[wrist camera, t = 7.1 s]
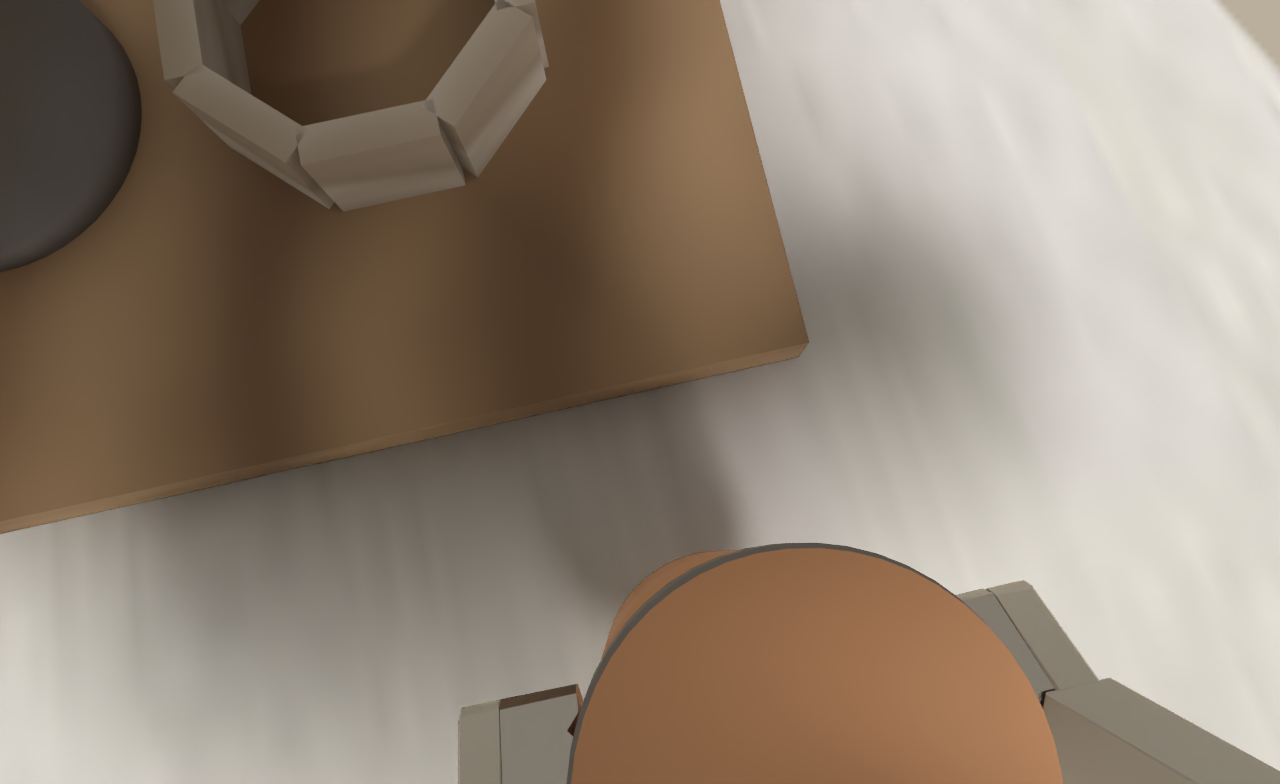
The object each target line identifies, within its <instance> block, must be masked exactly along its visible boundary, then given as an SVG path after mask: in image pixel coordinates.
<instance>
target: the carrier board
mask: <svg viewBox="0 0 1280 784" xmlns="http://www.w3.org/2000/svg"><path fill="white" fill-rule="evenodd" d="M808 343H809V341H808V337H807V333H806V329H805V325H804V322H803V318H802V314H801V310H800V306H799V303H798V299H797V295H796V291H795V287H794V283H793V280H792V276H791V272H790V268H789V264H788V261H787V257H786V253H785V249H784V245H783V241H782V238H781V234H780V230H779V226H778V222H777V219H776V215H775V211H774V207H773V203H772V199H771V196H770V192H769V188H768V184H767V180H766V176H765V173H764V169H763V165H762V161H761V157H760V154H759V150H758V146H757V142H756V138H755V134H754V131H753V127H752V123H751V119H750V115H749V112H748V108H747V104H746V100H745V96H744V92H743V89H742V85H741V81H740V77H739V73H738V70H737V66H736V62H735V58H734V54H733V50H732V47H731V43H730V39H729V35H728V31H727V27H726V24H725V20H724V16H723V12H722V8H721V5H720V1H719V0H0V534H2V533H6V532H11V531H15V530H20V529H24V528H29V527H33V526H38V525H42V524H47V523H51V522H56V521H60V520H65V519H69V518H74V517H78V516H83V515H87V514H92V513H96V512H101V511H105V510H110V509H114V508H119V507H123V506H128V505H132V504H137V503H141V502H146V501H150V500H155V499H160V498H164V497H169V496H173V495H178V494H182V493H187V492H191V491H196V490H200V489H205V488H209V487H214V486H218V485H223V484H227V483H232V482H236V481H241V480H245V479H250V478H254V477H259V476H263V475H268V474H272V473H277V472H281V471H286V470H290V469H295V468H299V467H304V466H308V465H313V464H317V463H322V462H326V461H331V460H335V459H340V458H344V457H349V456H353V455H358V454H362V453H367V452H371V451H376V450H381V449H385V448H390V447H394V446H399V445H403V444H408V443H412V442H417V441H421V440H426V439H430V438H435V437H439V436H444V435H448V434H453V433H457V432H462V431H466V430H471V429H475V428H480V427H484V426H489V425H493V424H498V423H502V422H507V421H511V420H516V419H520V418H525V417H529V416H534V415H538V414H543V413H547V412H552V411H556V410H561V409H565V408H570V407H574V406H579V405H583V404H588V403H592V402H597V401H602V400H606V399H611V398H615V397H620V396H624V395H629V394H633V393H638V392H642V391H647V390H651V389H656V388H660V387H665V386H669V385H674V384H678V383H683V382H687V381H692V380H696V379H701V378H705V377H710V376H714V375H719V374H723V373H728V372H732V371H737V370H741V369H746V368H750V367H755V366H759V365H764V364H768V363H773V362H777V361H782V360H786V359H791V358H795V357H798V356H799V355H800V354H801V352H802V351H803V350H804V348H805V347H806V346H807V344H808Z"/></svg>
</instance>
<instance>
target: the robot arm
mask: <svg viewBox="0 0 1280 784" xmlns="http://www.w3.org/2000/svg"><path fill="white" fill-rule="evenodd" d="M955 596H957V597H958V598H960V599H961V600H962V601H963V602H964V603H965V604H966V605H967V606H968V607H970V608H971V609H972V610H973V611H974V612H975V613H976V614H977V615H978V616H979V617H980V618H981V619H982V620H983V621H985V623H986V624H987V625H988V626H989V627H990V629H991V630H992V631H993V632H994V633H995V634H996V636H997V637H998V638H999V639H1000V640H1001V642H1002V643H1003V644H1004V645H1005V646H1006V648H1007V649H1008V650H1009V651H1010V652H1011V654H1012V655H1013V657H1014V658H1015V660H1016V662H1017V663H1018V665H1019V666H1020V668H1021V669H1022V671H1023V672H1024V674H1025V675H1026V677H1027V678H1028V680H1029V682H1030V684H1031V686H1032V688H1033V690H1034V692H1035V694H1036V696H1037V698H1038V700H1039V702H1040V704H1041V706H1042V708H1043V710H1044V713H1045V716H1046V719H1047V721H1048V724H1049V727H1050V730H1051V733H1052V736H1053V739H1054V741H1055V745H1056V750H1057V754H1058V759H1059V763H1060V768H1061V772H1062V777H1063V784H1280V771H1278V770H1276V769H1275V768H1273V767H1271V766H1269V765H1267V764H1266V763H1264V762H1262V761H1260V760H1258V759H1256V758H1255V757H1253V756H1251V755H1249V754H1247V753H1246V752H1244V751H1242V750H1240V749H1238V748H1237V747H1235V746H1233V745H1231V744H1229V743H1227V742H1226V741H1224V740H1222V739H1220V738H1218V737H1217V736H1215V735H1213V734H1211V733H1209V732H1208V731H1206V730H1204V729H1202V728H1200V727H1199V726H1197V725H1195V724H1193V723H1191V722H1189V721H1188V720H1186V719H1184V718H1182V717H1180V716H1179V715H1177V714H1175V713H1173V712H1171V711H1170V710H1168V709H1166V708H1164V707H1162V706H1160V705H1159V704H1157V703H1155V702H1153V701H1151V700H1150V699H1148V698H1146V697H1144V696H1142V695H1141V694H1139V693H1137V692H1135V691H1133V690H1132V689H1130V688H1128V687H1126V686H1124V685H1122V684H1121V683H1119V682H1117V681H1115V680H1113V679H1112V678H1106V679H1101V680H1099V679H1098V678H1097V677H1096V675H1095V674H1094V672H1093V671H1092V670H1091V668H1090V667H1089V665H1088V664H1087V662H1086V661H1085V660H1084V658H1083V657H1082V655H1081V654H1080V653H1079V651H1078V650H1077V648H1076V647H1075V646H1074V644H1073V643H1072V641H1071V640H1070V639H1069V637H1068V636H1067V634H1066V633H1065V631H1064V630H1063V629H1062V627H1061V626H1060V624H1059V623H1058V622H1057V620H1056V619H1055V617H1054V616H1053V615H1052V613H1051V612H1050V610H1049V609H1048V608H1047V606H1046V605H1045V603H1044V602H1043V600H1042V599H1041V598H1040V596H1039V595H1038V593H1037V592H1036V591H1035V589H1034V588H1033V586H1032V585H1030V584H1029V583H1027V582H1026V581H1024V580H1023V581H1016V582H1012V583H1008V584H1004V585H1000V586H996V587H992V588H987V589H978V590H974V591H970V592H966V593H962V594H958V595H955ZM582 704H583V699H582V696H581V693H580V690H579V687H578V684H575V685H570V686H565V687H560V688H555V689H550V690H545V691H540V692H535V693H530V694H525V695H520V696H515V697H510V698H506V699H500V700H496V701H491V702H487V703H482V704H478V705H473V706H469V707H464V708H462V710H461V714H460V718H459V728H458V784H567V774H568V766H569V757H570V749H571V744H572V740H573V736H574V732H575V728H576V724H577V720H578V716H579V713H580V710H581V707H582Z"/></svg>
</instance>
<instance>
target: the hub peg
mask: <svg viewBox="0 0 1280 784" xmlns="http://www.w3.org/2000/svg"><path fill="white" fill-rule="evenodd" d="M567 784H1063V777H1062V772H1061V768H1060V763H1059V759H1058V754H1057V750H1056V745H1055V741H1054V739H1053V736H1052V733H1051V730H1050V727H1049V724H1048V721H1047V719H1046V716H1045V713H1044V710H1043V708H1042V706H1041V704H1040V702H1039V700H1038V698H1037V696H1036V694H1035V692H1034V690H1033V688H1032V686H1031V684H1030V682H1029V680H1028V678H1027V677H1026V675H1025V674H1024V672H1023V671H1022V669H1021V668H1020V666H1019V665H1018V663H1017V662H1016V660H1015V658H1014V657H1013V655H1012V654H1011V652H1010V651H1009V650H1008V649H1007V648H1006V646H1005V645H1004V644H1003V643H1002V642H1001V640H1000V639H999V638H998V637H997V636H996V634H995V633H994V632H993V631H992V630H991V629H990V627H989V626H988V625H987V624H986V623H985V621H983V620H982V619H981V618H980V617H979V616H978V615H977V614H976V613H975V612H974V611H973V610H972V609H971V608H970V607H968V606H967V605H966V604H965V603H964V602H963V601H962V600H961V599H960V598H958V597H957V596H955V595H954V594H953V593H951V592H950V591H948V590H947V589H946V588H944V587H943V586H942V585H940V584H939V583H937V582H936V581H935V580H933V579H931V578H929V577H927V576H925V575H924V574H922V573H920V572H918V571H916V570H915V569H913V568H911V567H909V566H907V565H905V564H902V563H900V562H897V561H895V560H892V559H889V558H887V557H884V556H882V555H879V554H876V553H872V552H868V551H864V550H860V549H856V548H852V547H848V546H840V545H831V544H822V543H785V544H772V545H765V546H759V547H752V548H746V549H742V550H732V551H708V552H701V553H695V554H691V555H688V556H685V557H681V558H679V559H676V560H674V561H672V562H670V563H667V564H666V565H664V566H662V567H661V568H659V569H657V570H656V571H654V572H653V573H652V574H650V575H649V576H648V577H647V578H645V579H644V580H643V581H642V582H641V583H640V584H639V585H638V586H637V587H636V588H635V589H634V590H633V591H632V592H631V594H630V595H629V596H628V598H627V599H626V601H625V602H624V603H623V605H622V606H621V608H620V610H619V612H618V614H617V616H616V617H615V619H614V622H613V625H612V627H611V630H610V632H609V635H608V639H607V642H606V645H605V649H604V652H603V655H602V658H601V661H600V663H599V665H598V667H597V669H596V671H595V673H594V675H593V678H592V680H591V683H590V685H589V688H588V691H587V693H586V696H585V698H584V701H583V704H582V707H581V710H580V713H579V716H578V720H577V724H576V728H575V732H574V736H573V740H572V744H571V749H570V757H569V766H568V774H567Z"/></svg>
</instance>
